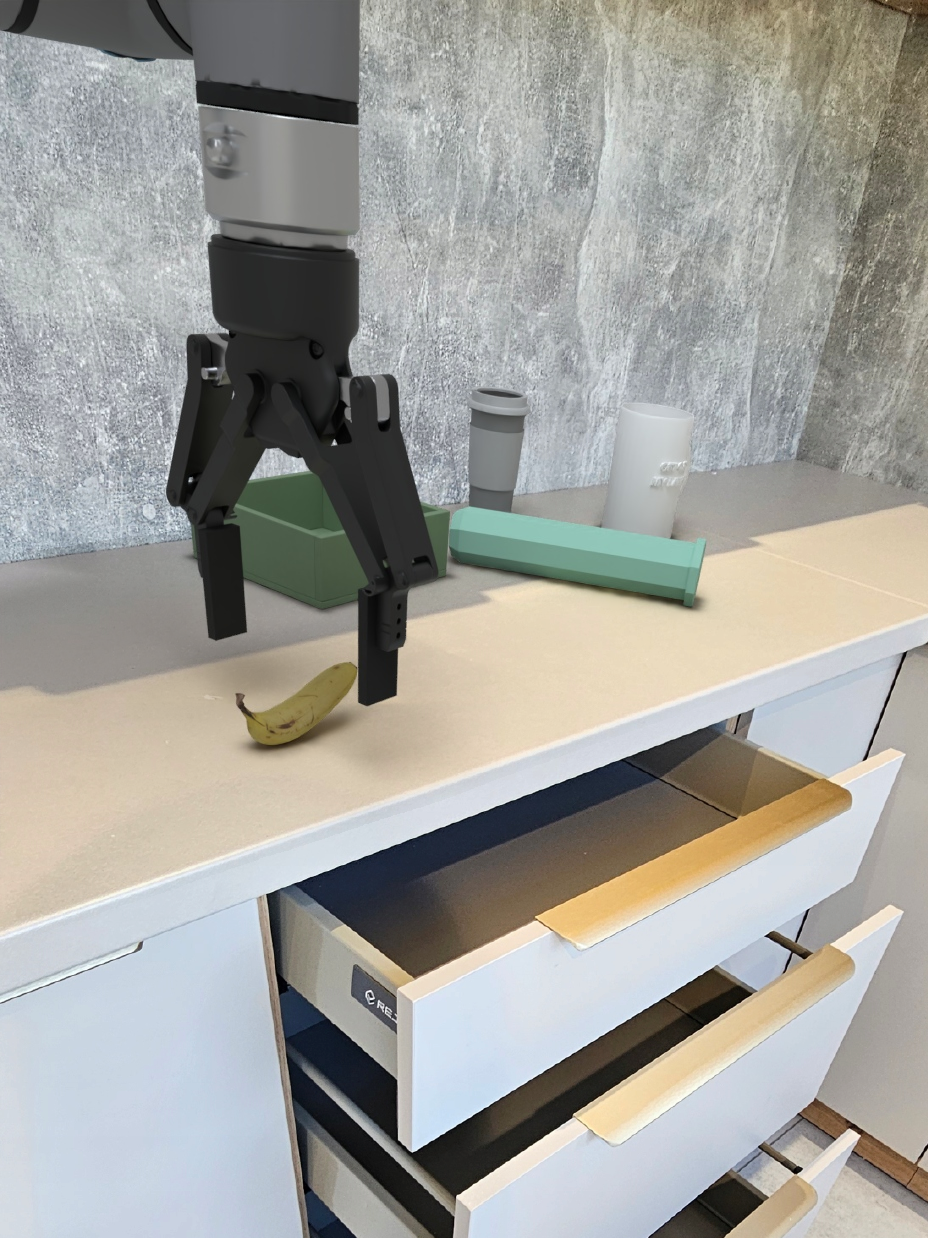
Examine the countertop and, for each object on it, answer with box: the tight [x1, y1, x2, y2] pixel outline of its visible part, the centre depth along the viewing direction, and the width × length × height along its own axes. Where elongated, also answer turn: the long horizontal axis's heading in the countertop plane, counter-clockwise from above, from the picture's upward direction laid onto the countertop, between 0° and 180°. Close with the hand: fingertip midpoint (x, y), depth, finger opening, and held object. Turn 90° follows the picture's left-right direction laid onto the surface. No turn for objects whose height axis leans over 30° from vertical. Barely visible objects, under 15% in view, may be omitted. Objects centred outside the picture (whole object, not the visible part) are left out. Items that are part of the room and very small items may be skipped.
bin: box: [190, 470, 451, 610], centre depth 92 cm, size 17×17×6 cm
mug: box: [601, 402, 695, 539], centre depth 111 cm, size 8×12×12 cm
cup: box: [466, 385, 531, 513], centre depth 109 cm, size 7×7×12 cm
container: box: [448, 505, 708, 608], centre depth 98 cm, size 6×6×25 cm
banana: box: [234, 661, 358, 746], centre depth 66 cm, size 10×2×4 cm, turn 140°
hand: (299, 666), depth 64 cm, fingers open, 13 cm apart
